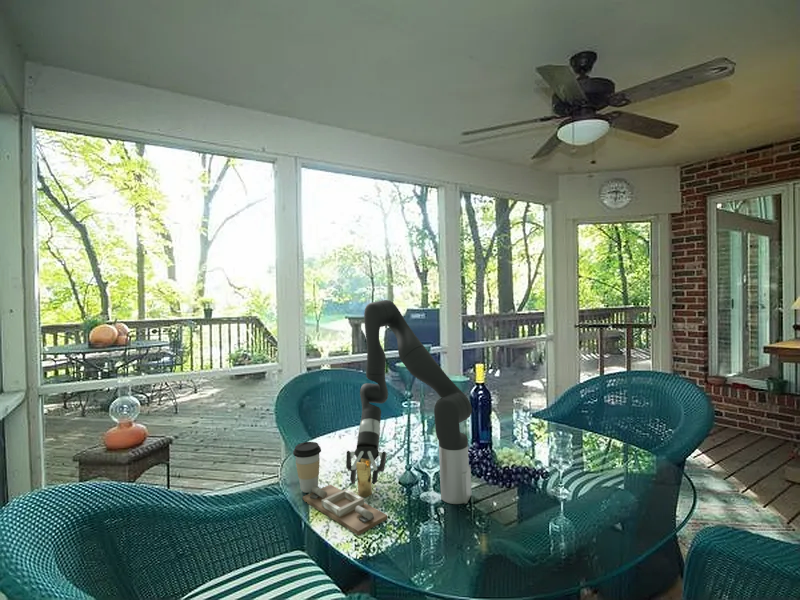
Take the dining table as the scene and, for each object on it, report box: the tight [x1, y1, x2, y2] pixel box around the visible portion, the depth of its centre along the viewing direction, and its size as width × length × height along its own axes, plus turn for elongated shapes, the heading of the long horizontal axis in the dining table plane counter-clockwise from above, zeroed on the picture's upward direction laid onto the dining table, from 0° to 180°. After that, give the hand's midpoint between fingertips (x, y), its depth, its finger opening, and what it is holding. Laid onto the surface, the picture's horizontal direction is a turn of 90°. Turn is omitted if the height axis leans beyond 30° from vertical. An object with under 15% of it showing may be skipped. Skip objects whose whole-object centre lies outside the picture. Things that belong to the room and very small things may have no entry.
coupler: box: [356, 458, 373, 498], centre depth 149 cm, size 5×5×11 cm
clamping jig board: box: [302, 484, 388, 536], centre depth 140 cm, size 29×11×4 cm, turn 44°
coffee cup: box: [292, 441, 322, 494], centre depth 154 cm, size 9×9×15 cm
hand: (363, 483), depth 148 cm, fingers open, 6 cm apart
